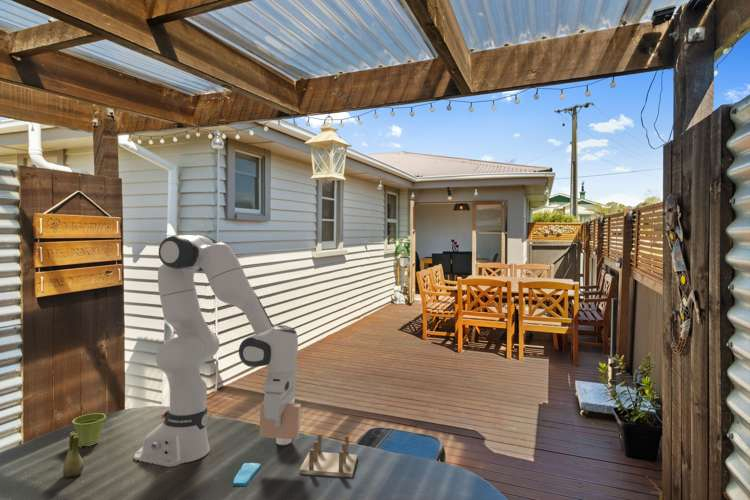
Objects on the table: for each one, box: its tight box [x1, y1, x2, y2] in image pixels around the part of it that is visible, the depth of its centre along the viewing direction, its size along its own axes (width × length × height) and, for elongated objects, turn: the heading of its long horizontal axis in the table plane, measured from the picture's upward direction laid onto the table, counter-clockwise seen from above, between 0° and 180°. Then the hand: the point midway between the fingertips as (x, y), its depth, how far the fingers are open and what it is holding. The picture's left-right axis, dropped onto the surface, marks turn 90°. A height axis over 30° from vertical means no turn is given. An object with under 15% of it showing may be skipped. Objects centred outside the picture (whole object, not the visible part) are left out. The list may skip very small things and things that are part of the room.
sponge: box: [232, 462, 262, 487], centre depth 123 cm, size 2×12×6 cm
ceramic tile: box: [258, 401, 302, 441], centre depth 128 cm, size 12×2×10 cm, turn 85°
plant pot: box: [71, 412, 107, 446], centre depth 141 cm, size 9×9×9 cm
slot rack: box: [298, 433, 358, 478], centre depth 130 cm, size 16×12×7 cm
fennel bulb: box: [62, 431, 85, 478], centre depth 121 cm, size 6×5×12 cm
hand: (279, 423), depth 128 cm, fingers closed on ceramic tile, 2 cm apart
